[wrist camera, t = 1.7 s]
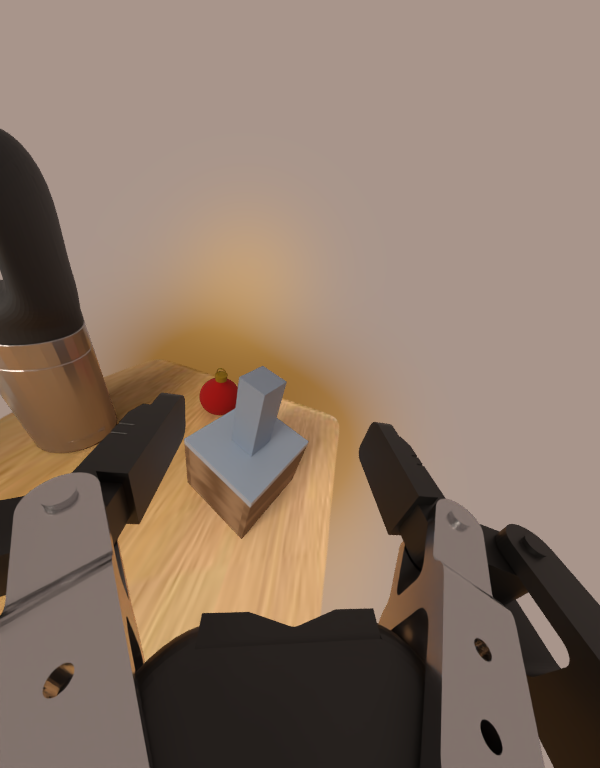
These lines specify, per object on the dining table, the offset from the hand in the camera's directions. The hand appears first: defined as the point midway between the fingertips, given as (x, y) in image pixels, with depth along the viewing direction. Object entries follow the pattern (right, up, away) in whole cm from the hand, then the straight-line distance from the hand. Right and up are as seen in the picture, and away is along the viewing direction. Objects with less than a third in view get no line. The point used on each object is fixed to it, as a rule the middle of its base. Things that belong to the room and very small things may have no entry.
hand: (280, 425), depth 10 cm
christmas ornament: (-15, -3, +35) cm, 38 cm away
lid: (-6, -7, +21) cm, 23 cm away
